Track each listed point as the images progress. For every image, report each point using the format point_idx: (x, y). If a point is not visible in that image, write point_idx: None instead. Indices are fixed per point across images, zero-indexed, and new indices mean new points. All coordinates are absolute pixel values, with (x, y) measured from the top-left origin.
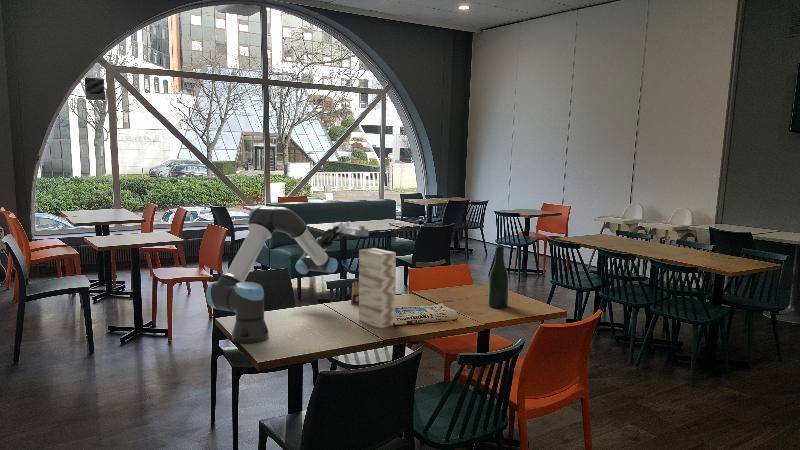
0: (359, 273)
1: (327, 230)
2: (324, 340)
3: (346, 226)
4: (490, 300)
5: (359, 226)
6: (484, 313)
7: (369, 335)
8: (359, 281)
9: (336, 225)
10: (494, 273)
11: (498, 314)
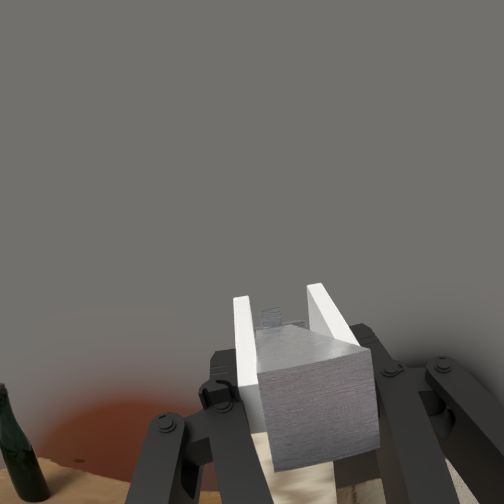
0: (333, 474)
1: (473, 382)
2: (459, 481)
3: (266, 341)
4: (41, 489)
5: (279, 309)
6: (87, 499)
7: (367, 501)
8: (335, 497)
9: (324, 350)
10: (24, 439)
11: (84, 488)
